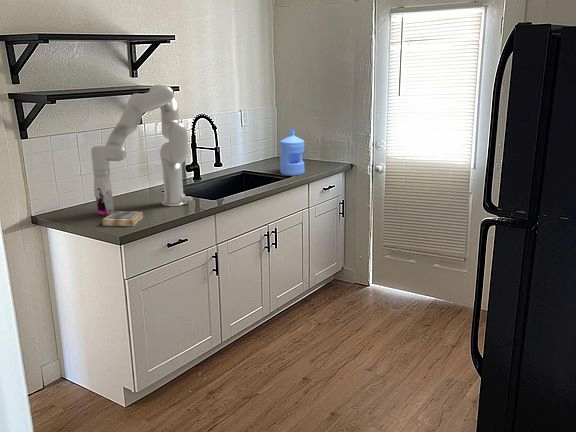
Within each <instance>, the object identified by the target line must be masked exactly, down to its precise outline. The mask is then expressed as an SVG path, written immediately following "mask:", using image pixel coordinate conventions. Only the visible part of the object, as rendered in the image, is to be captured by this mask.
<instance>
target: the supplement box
mask: <svg viewBox="0 0 576 432" xmlns="http://www.w3.org/2000/svg"><path fill="white" fill-rule="evenodd" d="M100 196H103V195H102V194H101V193H100ZM101 199H102V198H101ZM95 202H96V209H97V210H96V212H97V215H99V216H102V217H107V216H108V215H109V214H111V213H112V212H114V211H115V208H114V199H113V191H112V189H111V190H109V191H107V196H105V197H104V202H105V211H99V210H98V203H97V200H96V199H95Z"/></svg>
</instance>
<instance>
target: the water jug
mask: <svg viewBox="0 0 576 432" xmlns="http://www.w3.org/2000/svg"><path fill="white" fill-rule="evenodd" d="M295 130H296V129H294V128H293V129H292V128H291V129H289V136H287V137H285V138H283V139H281V140H280V141H279V142H280V143H279V148H280V150H279V151H280V153H279V154H280V155H279V156H280V157H279V159H280V171H279V172H280V174H282V175H283V176H301V175H304V174H305V172H306V171H305V161H303V153H304V152H305V140H304V139H301V138H300V137H298V136H296V135H295V133H296V132H295Z"/></svg>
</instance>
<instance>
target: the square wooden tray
mask: <svg viewBox="0 0 576 432" xmlns="http://www.w3.org/2000/svg"><path fill="white" fill-rule="evenodd" d="M143 218H144V212H143V211H125V210H124V211H117V210H116V211H115V210H114V212H112V213H111V214H109V215H107V216H104V218H102V219H101V221H102V226H103V227H104V226H105V227H134V226H135V225H137V224H138V223H139V222H140V221H141V220H142V219H143ZM138 221H139V222H138Z"/></svg>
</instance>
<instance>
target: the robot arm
mask: <svg viewBox="0 0 576 432" xmlns="http://www.w3.org/2000/svg"><path fill="white" fill-rule="evenodd" d="M159 108H160V114H161V115H160V116H161V133H162V136H163V138H165V139H167V140H168V142H167V141H166V142H164V143H163V144H162V145H161V147H160V150H159V153H160V161H161V168H162V177H163V191H164V200H162V201H161V205H162V206H166V207H181V206H183V205H186V204H187V202H188V201H189V202H190V201H191V202H192V199H193V198H192V196H190V195H189V196H186V194H185V193H184V187H183V186H184V184H183V168H182V164H183V163H184V162H186V160H187V158H188V152H189V151H188V149H189V148H188V147H189V146H188V145H189V144H188V140H189V138H188V131H187V127H186V126H185V124H184V123H182V122H180V114H179V113H180V112H179V105H178V103H177V101H176V99H175V94H174V90H173V88H171V87H170V86H168V85H165V84H164V85H162V84H154V85H152V86H151V87H150V88H149V91H148V92H144V93H133V94H131V95H130V97H129V98H128V100H127V103H126V105H125V108H124V110H123V112H122V114H121V116H120V119H119V121H118V123H117V124H116V125H115V127H114V128H113V130H112V131H111V133H110V134H109V137H108V138H107V141H106V143H105V145H96V146H95V145H94V146H92V147H91V150H90V155H91V161H92V163H91V164H92V172H93V173H92V174H93V190H94V192H93V193H94V197H95V201H96V200H97V203H98V210H99V211H105V202H104V197H105V196H107V191H109V190H111V191H112V183H111V177H110V176H111V166H110V162H120V161H123V160H124V159H126V157H127V150H126V149H125V148H124V146H123V145H124V143H125V141H126V139H127V138H128V137H129V136H130V135H131V134H133V132H135V131H136V130H137V128H138V126H139V124H140V121H141V120H142V117H143V116H144V113H149V112H151V111H155V110H156V109H157V110H158V109H159ZM100 193H101V194H102V195H103V196H100ZM101 198H102V199H101ZM97 203H96V204H97Z"/></svg>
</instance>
